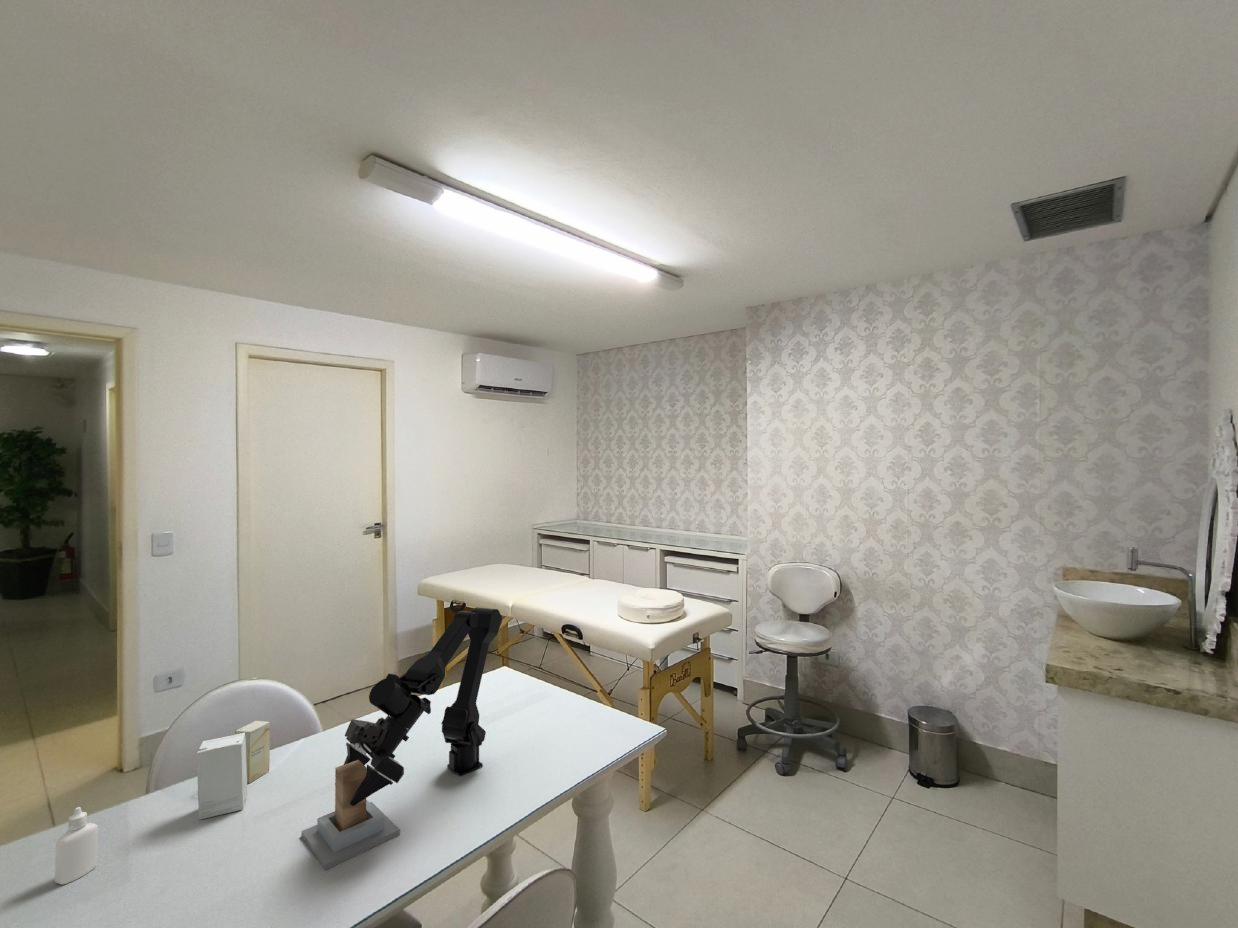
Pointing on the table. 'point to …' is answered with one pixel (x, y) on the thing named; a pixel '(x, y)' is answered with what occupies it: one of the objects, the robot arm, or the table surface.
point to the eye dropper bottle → (76, 849)
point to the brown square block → (349, 795)
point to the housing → (348, 836)
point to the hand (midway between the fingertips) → (343, 794)
